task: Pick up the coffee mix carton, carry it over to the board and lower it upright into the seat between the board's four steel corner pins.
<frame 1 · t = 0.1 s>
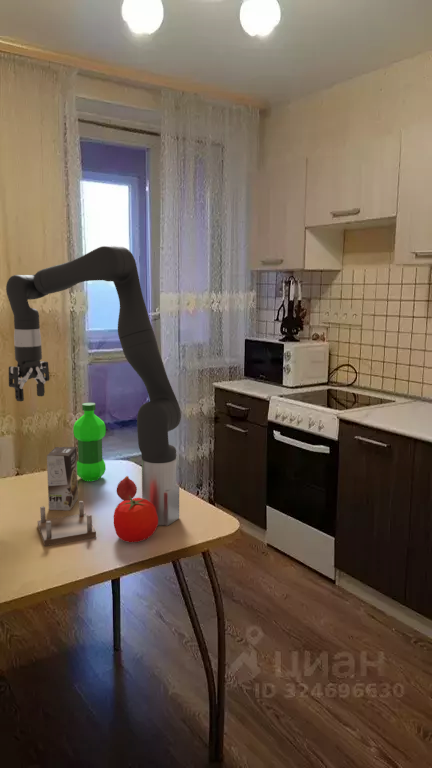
hand: (30, 398, 171), 29 cm above the table, tool pointing down, fingers open, 8 cm apart
tomato: (135, 539, 145), on the table
onion: (126, 502, 169), on the table
coffee box: (64, 504, 167), on the table
pin holder: (66, 531, 149), on the table
plastic bottle: (91, 479, 188), on the table
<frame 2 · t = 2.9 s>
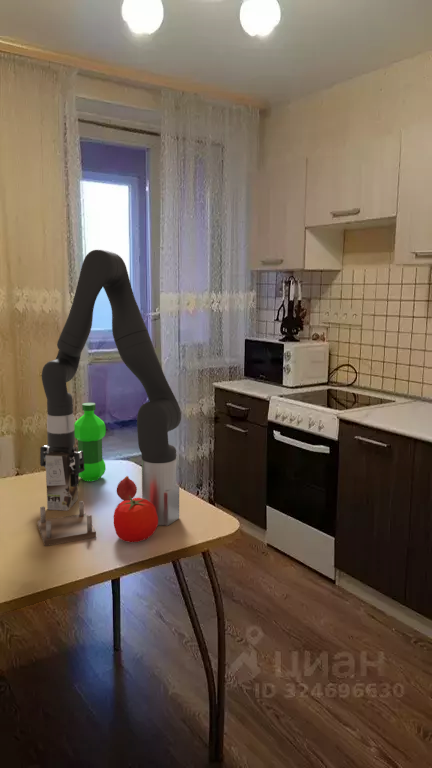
hand: (62, 483, 166), 6 cm above the table, tool pointing down, fingers open, 8 cm apart
nothing on the table moved.
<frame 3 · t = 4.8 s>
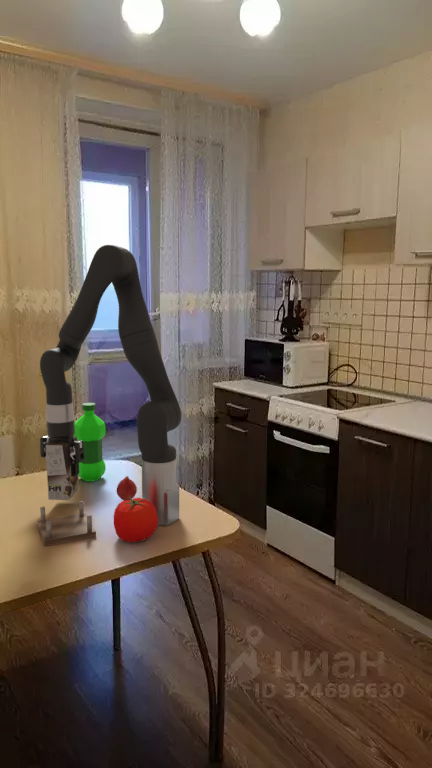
hand: (63, 473, 165), 9 cm above the table, tool pointing down, fingers closed on coffee box, 8 cm apart
coffee box: (64, 495, 166), point 3 cm above the table, touching gripper
everything else where it was.
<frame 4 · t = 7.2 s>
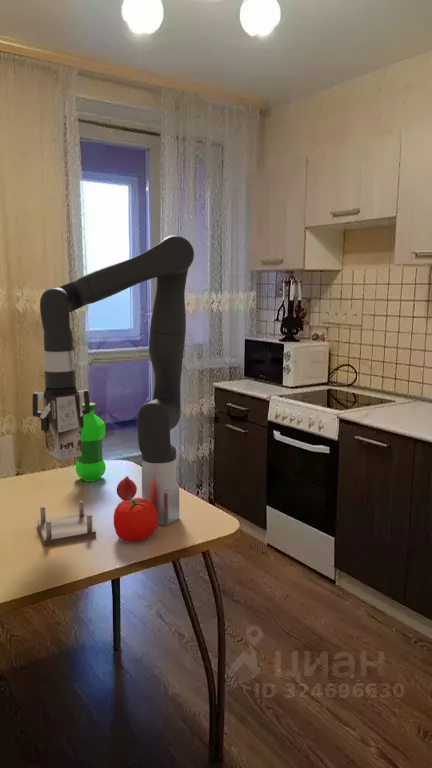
hand: (62, 431, 147), 26 cm above the table, tool pointing down, fingers closed on coffee box, 8 cm apart
coffee box: (64, 454, 148), point 19 cm above the table, touching gripper
everything else where it was.
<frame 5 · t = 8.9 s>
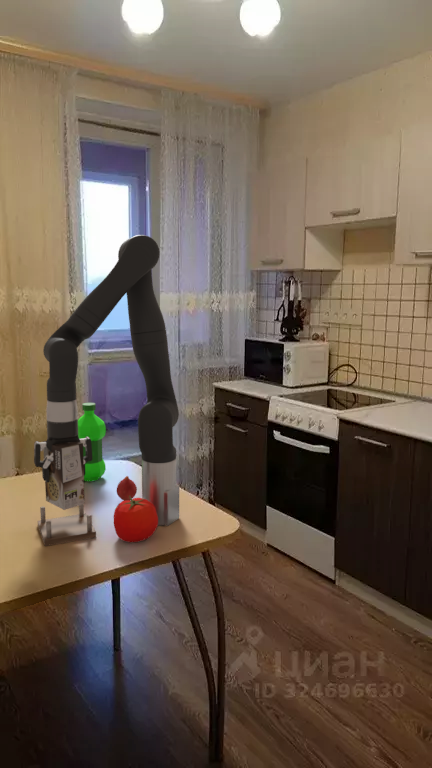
hand: (64, 479, 146), 14 cm above the table, tool pointing down, fingers closed on coffee box, 8 cm apart
coffee box: (65, 503, 147), point 8 cm above the table, touching gripper
everything else where it was.
when the fingers open (9 cm above the table, at t = 10.7 s): coffee box drops 1 cm, resting on pin holder.
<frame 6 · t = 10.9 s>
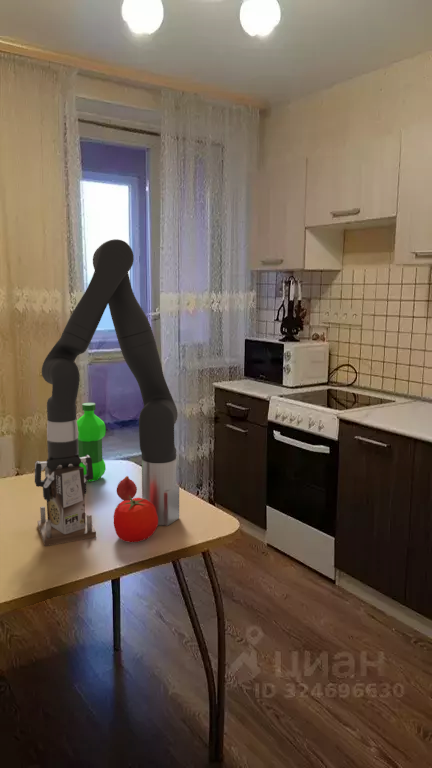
hand: (65, 498, 147), 9 cm above the table, tool pointing down, fingers open, 8 cm apart
coffee box: (66, 526, 148), point 1 cm above the table, touching pin holder
everything else where it was.
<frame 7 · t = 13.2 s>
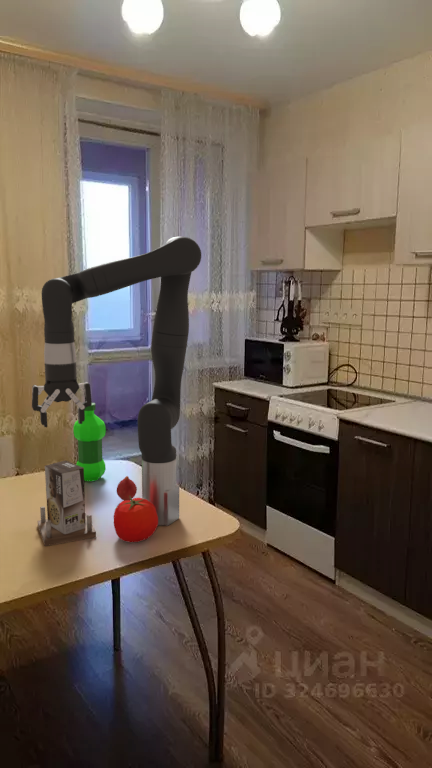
hand: (62, 424, 144), 28 cm above the table, tool pointing down, fingers open, 8 cm apart
nothing on the table moved.
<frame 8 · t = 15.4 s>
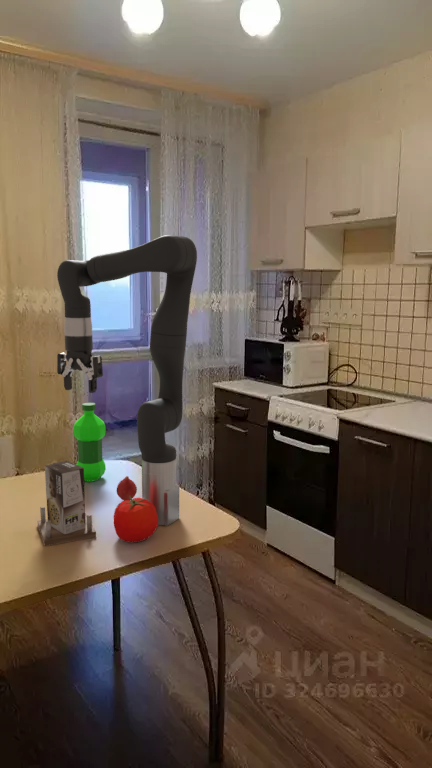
hand: (80, 391, 162), 33 cm above the table, tool pointing down, fingers open, 8 cm apart
nothing on the table moved.
at the end: coffee box 0.1 cm off-centre on the pin holder, point 1.3 cm above the pin holder's base; coffee box tilted 0°; the gripper is holding nothing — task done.
